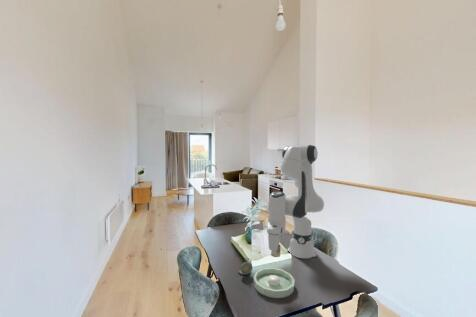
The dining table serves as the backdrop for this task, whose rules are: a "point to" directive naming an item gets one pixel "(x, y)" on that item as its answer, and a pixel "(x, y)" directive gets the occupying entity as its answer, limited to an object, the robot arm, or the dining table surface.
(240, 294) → the dining table surface
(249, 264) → the pocket watch
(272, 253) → the bead
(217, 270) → the dining table surface
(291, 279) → the groove tray
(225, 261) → the dining table surface
